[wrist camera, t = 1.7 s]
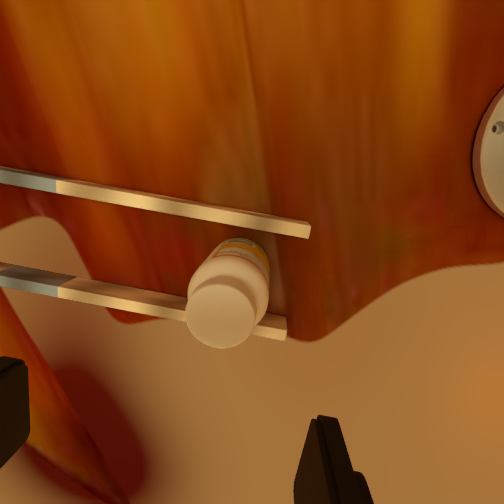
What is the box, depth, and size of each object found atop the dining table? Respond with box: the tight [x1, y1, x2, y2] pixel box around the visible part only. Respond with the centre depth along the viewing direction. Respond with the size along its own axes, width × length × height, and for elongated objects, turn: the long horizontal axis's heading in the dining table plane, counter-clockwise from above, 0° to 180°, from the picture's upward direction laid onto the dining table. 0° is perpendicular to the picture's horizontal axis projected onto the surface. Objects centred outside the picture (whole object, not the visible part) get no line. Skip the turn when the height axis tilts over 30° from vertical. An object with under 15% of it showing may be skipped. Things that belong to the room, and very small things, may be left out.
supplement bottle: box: [185, 238, 270, 349], centre depth 20 cm, size 5×5×10 cm
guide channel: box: [0, 166, 311, 341], centre depth 22 cm, size 32×10×5 cm, turn 80°
